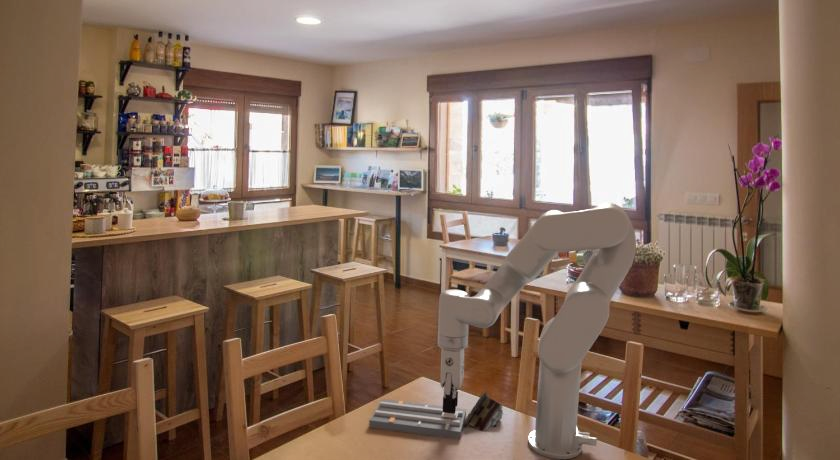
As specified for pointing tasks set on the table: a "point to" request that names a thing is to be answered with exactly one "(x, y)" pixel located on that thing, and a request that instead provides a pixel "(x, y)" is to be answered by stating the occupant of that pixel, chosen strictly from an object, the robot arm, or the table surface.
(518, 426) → the table surface
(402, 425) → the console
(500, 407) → the chocolate cake
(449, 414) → the fader knob
